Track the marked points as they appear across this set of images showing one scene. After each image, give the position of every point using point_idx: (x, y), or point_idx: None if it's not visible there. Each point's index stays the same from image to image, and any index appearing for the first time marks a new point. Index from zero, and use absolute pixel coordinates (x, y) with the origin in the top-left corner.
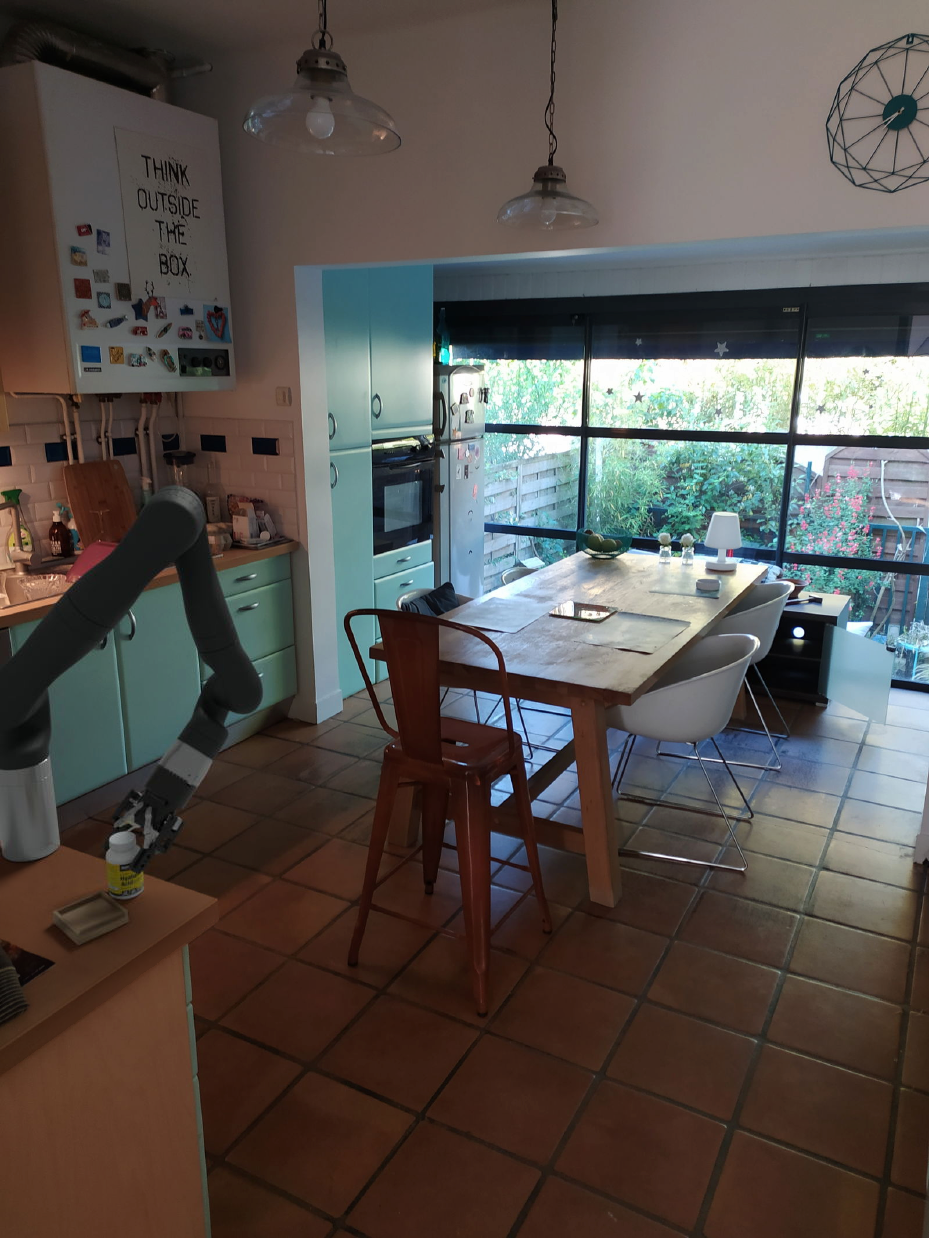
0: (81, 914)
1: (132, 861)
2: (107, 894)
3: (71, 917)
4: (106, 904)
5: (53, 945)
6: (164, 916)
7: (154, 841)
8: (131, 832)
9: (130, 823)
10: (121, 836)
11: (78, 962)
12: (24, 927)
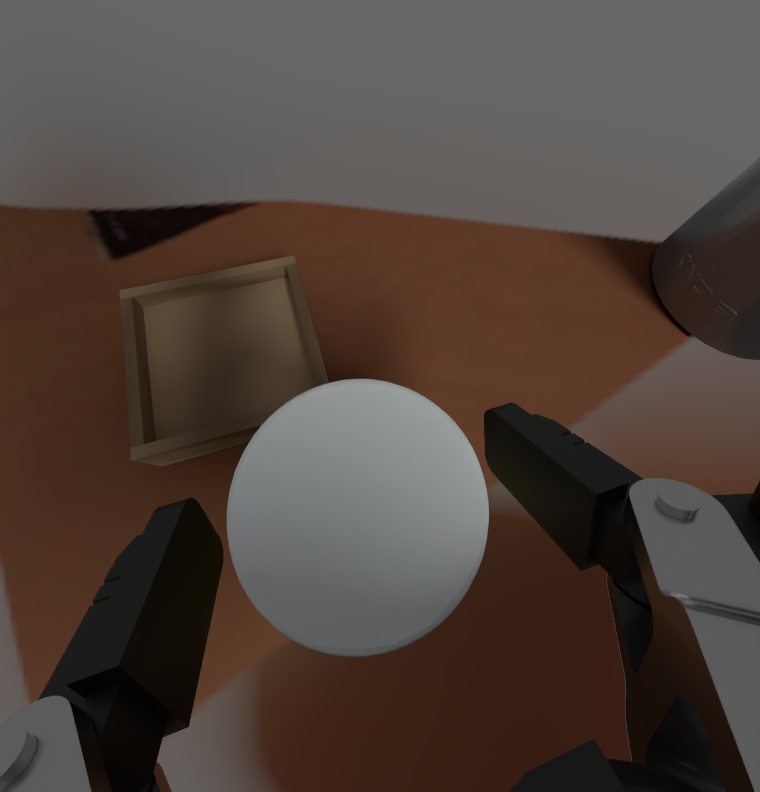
0: (255, 331)
1: (168, 530)
2: None
3: (256, 305)
4: (264, 408)
5: (195, 267)
6: None
7: None
8: (430, 624)
9: (650, 660)
10: (392, 497)
11: (68, 303)
12: (322, 227)
